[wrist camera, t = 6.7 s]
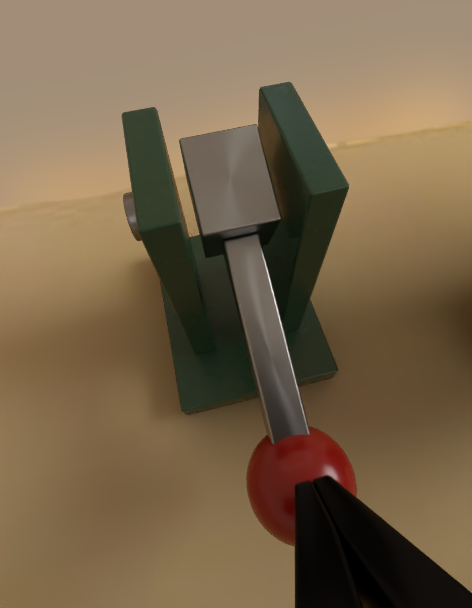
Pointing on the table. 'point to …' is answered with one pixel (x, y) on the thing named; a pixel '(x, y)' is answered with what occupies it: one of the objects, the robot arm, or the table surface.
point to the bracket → (212, 271)
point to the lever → (259, 319)
